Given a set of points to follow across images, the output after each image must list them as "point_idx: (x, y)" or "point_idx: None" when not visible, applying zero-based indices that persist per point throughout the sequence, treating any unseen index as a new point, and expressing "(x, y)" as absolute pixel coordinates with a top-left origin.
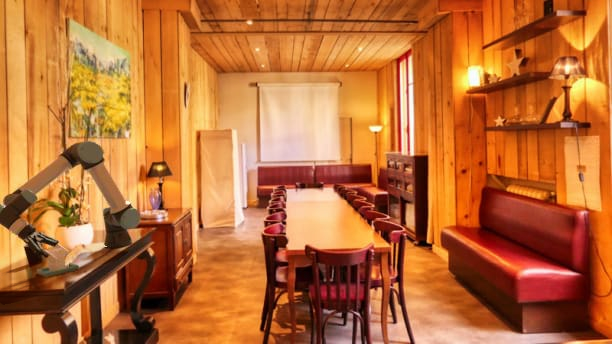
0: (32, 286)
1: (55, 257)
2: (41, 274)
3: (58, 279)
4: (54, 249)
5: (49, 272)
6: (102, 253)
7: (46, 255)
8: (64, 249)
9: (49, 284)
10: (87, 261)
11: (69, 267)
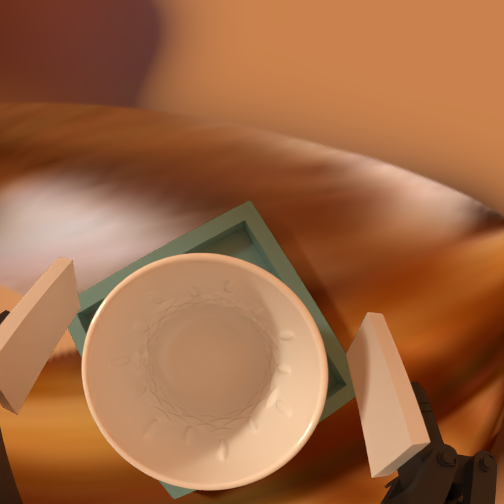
0: (474, 386)
1: (376, 321)
2: None
3: (426, 289)
4: (99, 401)
5: (348, 374)
6: None
7: (421, 397)
8: (50, 293)
9: (482, 306)
10: (40, 205)
11: (278, 254)
